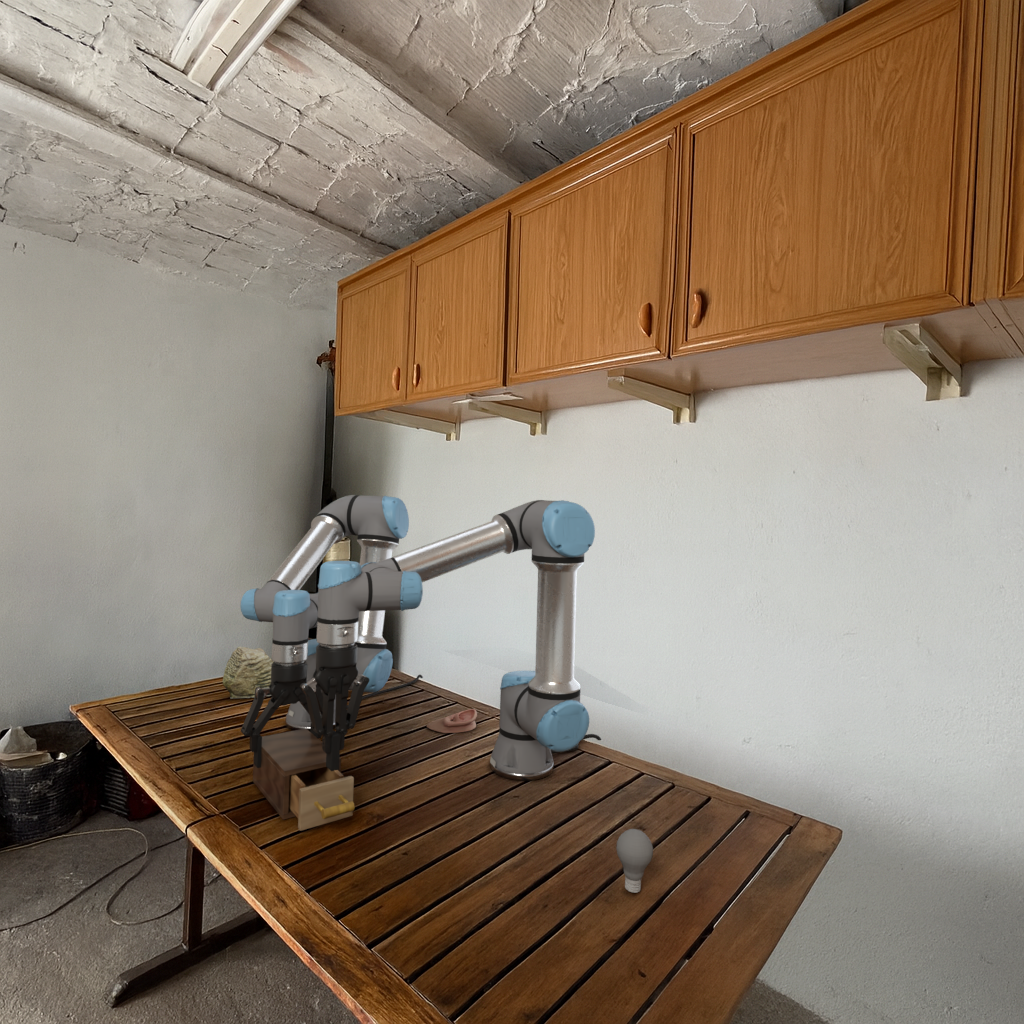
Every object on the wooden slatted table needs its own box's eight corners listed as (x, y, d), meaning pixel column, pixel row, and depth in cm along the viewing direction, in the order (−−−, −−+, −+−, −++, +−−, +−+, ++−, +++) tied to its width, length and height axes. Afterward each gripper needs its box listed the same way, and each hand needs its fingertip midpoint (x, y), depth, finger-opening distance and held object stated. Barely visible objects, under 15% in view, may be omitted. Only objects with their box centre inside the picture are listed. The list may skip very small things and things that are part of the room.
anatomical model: (423, 716, 174) (436, 703, 185) (422, 730, 174) (436, 716, 185) (470, 721, 171) (480, 708, 182) (469, 736, 171) (480, 722, 182)
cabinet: (339, 804, 131) (341, 758, 131) (282, 820, 124) (284, 771, 123) (304, 769, 147) (306, 728, 146) (252, 781, 140) (254, 738, 139)
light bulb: (610, 879, 108) (613, 822, 108) (644, 879, 109) (647, 822, 109) (619, 902, 102) (622, 840, 102) (655, 901, 103) (658, 840, 103)
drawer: (365, 828, 120) (366, 788, 120) (311, 844, 113) (312, 803, 113) (316, 780, 139) (318, 746, 139) (268, 792, 133) (269, 756, 133)
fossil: (218, 695, 195) (220, 647, 195) (278, 685, 208) (279, 640, 207) (228, 703, 189) (230, 653, 188) (289, 692, 201) (290, 645, 201)
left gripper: (237, 672, 129) (233, 778, 129) (348, 658, 144) (344, 753, 144) (227, 664, 135) (223, 765, 135) (335, 651, 150) (331, 742, 150)
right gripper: (310, 651, 112) (305, 783, 113) (377, 643, 120) (373, 767, 121) (295, 643, 118) (291, 768, 118) (361, 636, 126) (356, 753, 126)
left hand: (286, 759), depth 140 cm, fingers closed on cabinet, 12 cm apart
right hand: (332, 767), depth 120 cm, fingers closed
